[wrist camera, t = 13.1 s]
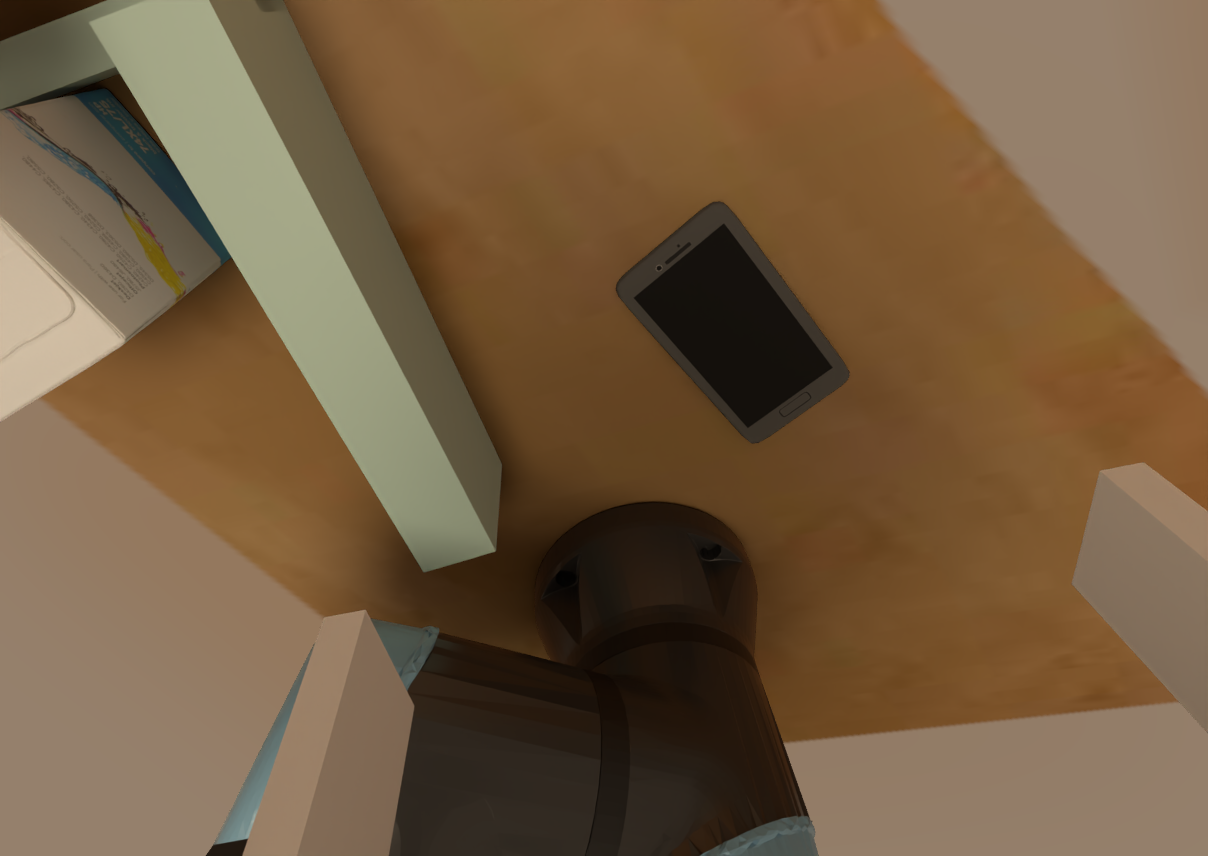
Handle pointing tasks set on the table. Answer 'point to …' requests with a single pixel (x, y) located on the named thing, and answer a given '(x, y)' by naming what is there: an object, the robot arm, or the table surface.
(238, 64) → the sage green box
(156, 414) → the table surface
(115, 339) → the ink box
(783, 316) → the cell phone
